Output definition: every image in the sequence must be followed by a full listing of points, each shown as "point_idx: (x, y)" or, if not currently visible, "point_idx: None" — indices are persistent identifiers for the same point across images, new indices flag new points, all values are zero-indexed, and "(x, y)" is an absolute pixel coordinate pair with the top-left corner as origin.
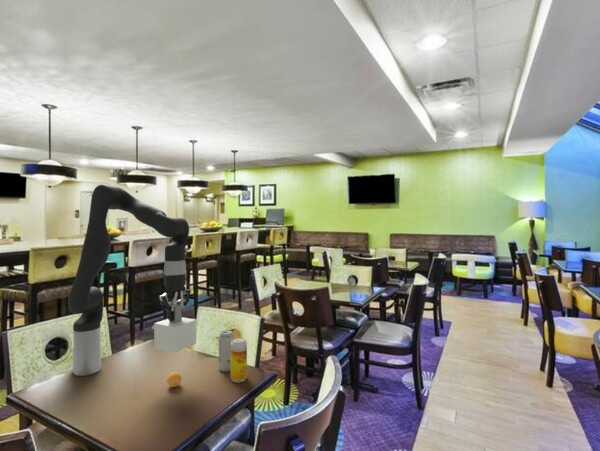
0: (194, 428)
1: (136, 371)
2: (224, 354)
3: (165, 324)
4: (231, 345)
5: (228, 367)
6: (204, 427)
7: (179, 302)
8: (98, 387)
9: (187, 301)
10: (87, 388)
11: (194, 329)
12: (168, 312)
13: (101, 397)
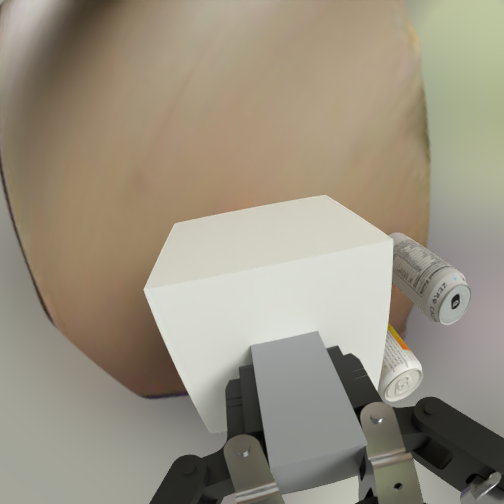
0: (175, 387)
1: (219, 33)
2: (399, 287)
3: (195, 373)
4: (380, 379)
5: None
6: (188, 395)
7: (361, 484)
8: (93, 63)
9: (436, 448)
10: (76, 51)
11: None
12: (229, 437)
13: (75, 131)
